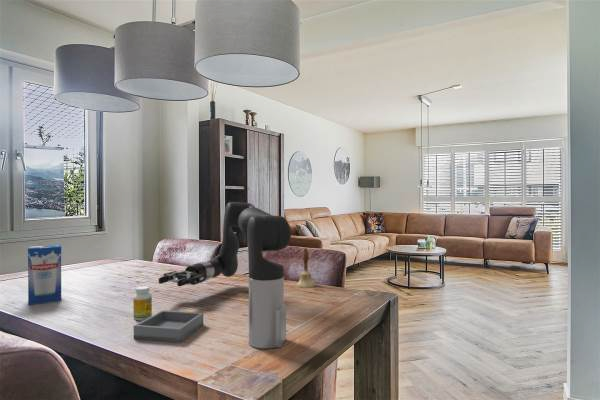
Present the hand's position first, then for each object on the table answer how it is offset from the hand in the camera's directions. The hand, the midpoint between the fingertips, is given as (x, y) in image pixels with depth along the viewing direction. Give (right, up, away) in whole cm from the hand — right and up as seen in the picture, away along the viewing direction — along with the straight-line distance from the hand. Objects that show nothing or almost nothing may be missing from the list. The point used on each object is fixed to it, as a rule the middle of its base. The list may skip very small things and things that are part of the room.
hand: (168, 282), depth 126 cm
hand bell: (+48, -9, +32) cm, 58 cm away
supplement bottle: (-5, -9, -10) cm, 15 cm away
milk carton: (-49, -9, +9) cm, 50 cm away
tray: (+8, -9, -22) cm, 25 cm away
